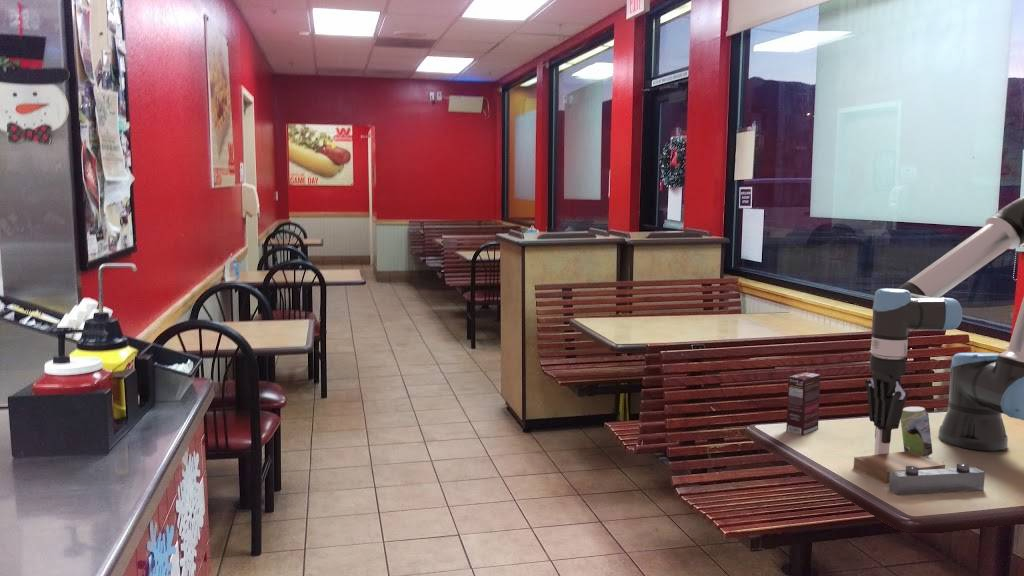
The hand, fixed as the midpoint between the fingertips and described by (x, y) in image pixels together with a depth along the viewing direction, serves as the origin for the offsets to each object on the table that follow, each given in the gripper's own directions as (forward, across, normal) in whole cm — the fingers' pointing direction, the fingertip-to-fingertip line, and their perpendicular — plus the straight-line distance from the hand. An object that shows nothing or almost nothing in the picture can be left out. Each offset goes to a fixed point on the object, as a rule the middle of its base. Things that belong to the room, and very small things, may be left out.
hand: (881, 454), depth 181 cm
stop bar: (+2, +17, +1) cm, 17 cm away
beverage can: (+2, -4, +11) cm, 12 cm away
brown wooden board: (+2, +6, 0) cm, 6 cm away
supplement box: (+2, -23, -7) cm, 24 cm away
